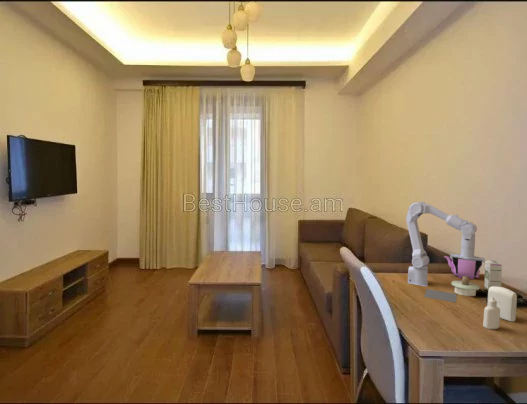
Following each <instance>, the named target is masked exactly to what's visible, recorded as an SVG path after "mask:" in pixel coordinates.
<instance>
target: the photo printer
mask: <svg viewBox="0 0 527 404" xmlns="http://www.w3.org/2000/svg"><path fill="white" fill-rule="evenodd" d="M487 291H488V292H487V304H486V307H487V306H489V300H490V299H492V297H494V299H495V300H496V301H497V305H496V307H498V308H500V319H502V320H506V321H509V322H515V321H516V319H517V303H518V301H517V300H518V295H517V293H516V292H514V291H513V290H511V289H508V288H506V287H503V286H501V287H497V286H493V287H490V288H489V290H488V289H487Z"/></svg>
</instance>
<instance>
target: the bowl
mask: <svg viewBox="0 0 527 404" xmlns="http://www.w3.org/2000/svg"><path fill="white" fill-rule="evenodd" d="M454 294H457V295H459V296H465V297H466V296H467V297H475V296H476V294H477V290H465V289H460V288H457V287H454Z"/></svg>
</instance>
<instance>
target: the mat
mask: <svg viewBox="0 0 527 404" xmlns="http://www.w3.org/2000/svg"><path fill="white" fill-rule="evenodd" d="M457 295H458V294H457V293H455V292H454V293H453V292H452V293H451V292H446V291H441V290H435V289H430V288H429V289H428V288H426V290H425V293H424V296H423V297H424V298H427V299H434V300H440V301H445V302H451V303H456V302H457Z"/></svg>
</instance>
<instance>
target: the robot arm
mask: <svg viewBox="0 0 527 404" xmlns="http://www.w3.org/2000/svg"><path fill="white" fill-rule="evenodd" d="M424 214H431V215H433V216H435V217H437V218H439V219H442V220H443V221H445V222H446V225H448V226H450V227H452V228H454V229H455V230H457V231H460V232H461V239H460V240H461V242H460V243H461V245H460V254H456V253H455V254H454V253H450V254H449V258H450V260H451V262H452V261H453V263H454V265H455V269H456V274H458V259H462V260H470V261H476V263H475V273H474V276H476V274H477V271H478V269H479V270H480V268H481V267H482V266H483V264H485V262H486V260H485V259H486V258H485V257H480V256H475V248H476V232H477V230H478V227H477V225H476V224H475V223H473V222H471V221H469V220H468V219H466V220H465V219H463V218H461V217H459V215H458V214H447V213H446V212H444V211H442V210H440V209H439V208H437V207H435V206H433V205H432V204H430V203H427V202H424V201H419V202H413V203H411V204H410V205H409V207H408V210H407V214H406V216H405V221H406V225H407V229H408V234H409V238H410V243H411V247H412V253H411V256H412V259H411V264H412V265H410V266H408V271H407V284H410V285H416V286H421V287H428V284H429V281H428V274H429V273H428V272H429V271H428V269H429V267H428V265H429V263H430V257H429V256H428V255H427V252H426V250H425V249H424V245H423V240H422V237H421V232H420V229H419V228H420V227H419V225H418V219H419V218H420V217H421V216H422V215H424ZM481 265H482V266H481ZM480 266H481V267H480Z"/></svg>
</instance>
